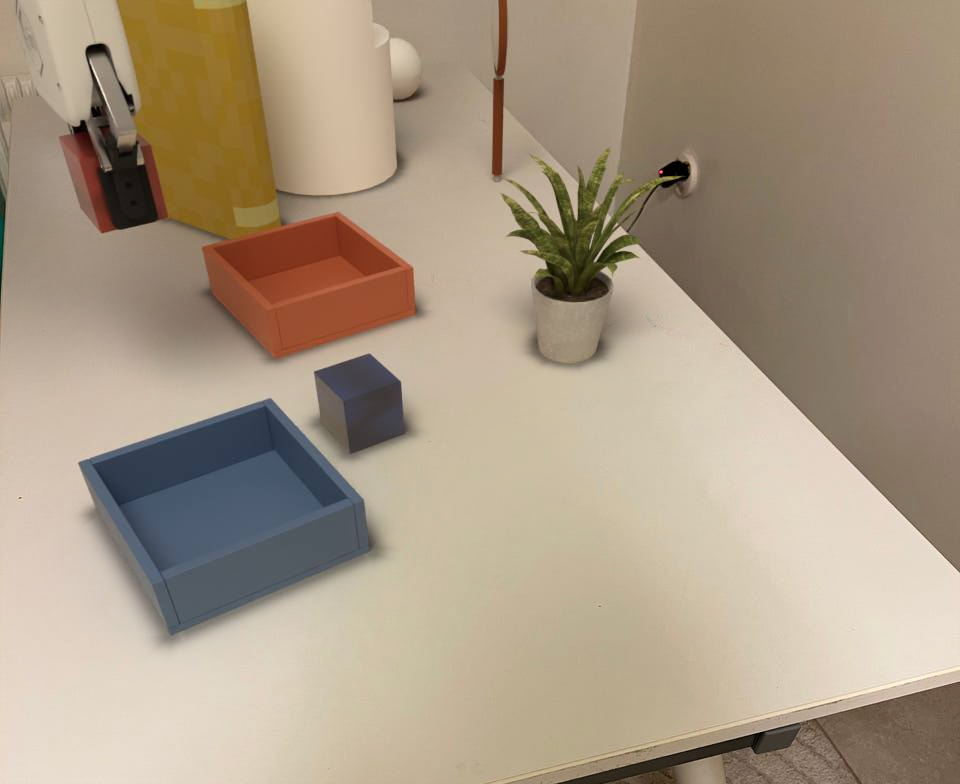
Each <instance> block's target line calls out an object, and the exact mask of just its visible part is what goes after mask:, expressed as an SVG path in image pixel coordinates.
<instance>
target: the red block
mask: <svg viewBox="0 0 960 784" xmlns="http://www.w3.org/2000/svg"><path fill="white" fill-rule="evenodd" d="M100 132H101V135H102V138H103V141H104V144H105V140H106V134H110V133H111V131H110V127H106V128H101V129H100ZM137 138H138V141H139V145H140V148H141V151H142V154H143V158H144V162H145V165H146V169H147V173H148V177H149V181H150V185H151V189H152V193H153V197H154V201H155V205H156V209H157V213H158V220H157V221H163V220H168V219H167V218H169V217H168V212H167V208H166V204H165V200H164V196H163V192H162V188H161V184H160V180H159V175H158V171H157V167H156V163H155V159H154V155H153V151H152V147H151V145H150V144H149V143H148V142H147V141H146V140H145V139H144V138H143V137H142V136H141V135H140V134H139V133H137ZM58 140H59V143H60V147H61V149H62V153H63V157H64V159H65V162H66V163H65V164H66V166H67V169H68V172H69V175H70V179H71V182H72V185H73V188H74V192H75V195H76V198H77V201H78V205H79V207H80V210H82V211H81V212H83V213H84V215H86V217H87V218H88V219H89V220H90V222H91V223H92V224H93V226H95V228H96V229H97V230H98V231H99V233H100V234H106V233H109V232H114V231H119V230H118V229H116V228H115V227H114V225H113V224H112V221H111V218H110V214H109V211H108V208H107V204H106V201H105V197H104V194H103V190H102V187H101V184H100V180H99V177H98V173H97V170H96V169H99V168H101V166H100V163H99V160H98V157H97V154H96V152H95V149H94V146H93V143H92V140H91V137H90V134H89V131H85V132H79V133H74V134H70V133H69V134H64V135H59V136H58ZM105 147H106V145H105ZM169 219H170V218H169ZM157 221H156V222H157Z"/></svg>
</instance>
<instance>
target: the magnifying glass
mask: <svg viewBox="0 0 960 784" xmlns="http://www.w3.org/2000/svg"><path fill="white" fill-rule="evenodd" d="M490 19H491V20H490V28H491V29H490V39H491V51H492V59H493V70H494V74H495V77H493V79H492V81H493V83H492V143H491V144H492V145H491V146H492V147H491V151H492V153H491V175H493V181H494V182H495V183H498V182H500V181H501V175H502V174H503V147H504V145H503V142H504V107H505V106H504V104H505V103H504V102H505V101H504V99H505V98H504V97H505V78H504V77H503V76H504V75H505V72H506V65H507V56H508V47H509V7H508V0H492V5H491V18H490Z"/></svg>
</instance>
